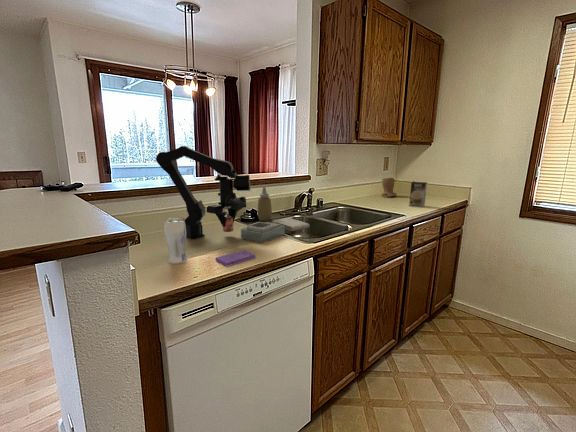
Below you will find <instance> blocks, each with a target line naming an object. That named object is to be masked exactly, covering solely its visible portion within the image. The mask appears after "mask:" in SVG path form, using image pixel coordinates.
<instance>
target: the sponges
mask: <svg viewBox="0 0 576 432" xmlns="http://www.w3.org/2000/svg"><path fill="white" fill-rule="evenodd" d="M255 258H256V253H253V252H250V251H248V250H245V249H243V250H239V251H236V252H232V253H227V254H223V255H220V256H216V257H215V262H217V263H219V264H221V265H223V266H225V267H228V265H229V266H231V265H235V263H236V264H240V263H242V262H245V261H249V260H252V259H255Z"/></svg>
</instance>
